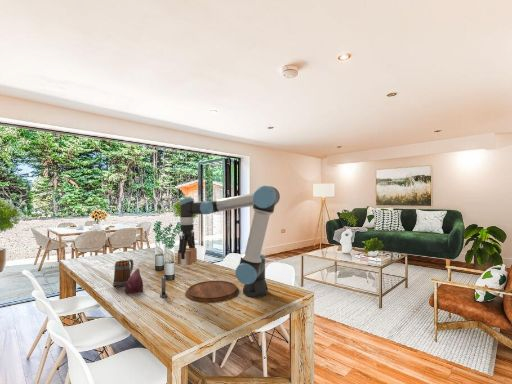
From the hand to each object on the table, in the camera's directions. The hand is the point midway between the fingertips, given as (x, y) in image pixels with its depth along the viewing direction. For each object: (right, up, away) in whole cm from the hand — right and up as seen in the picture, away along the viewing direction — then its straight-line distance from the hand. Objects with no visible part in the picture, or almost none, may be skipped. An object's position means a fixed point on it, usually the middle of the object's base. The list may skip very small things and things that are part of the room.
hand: (187, 262), depth 158 cm
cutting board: (+14, -19, +3) cm, 24 cm away
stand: (-13, -19, -3) cm, 23 cm away
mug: (-47, -19, +20) cm, 55 cm away
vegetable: (-34, -19, +6) cm, 40 cm away
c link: (0, 0, 0) cm, 0 cm away
